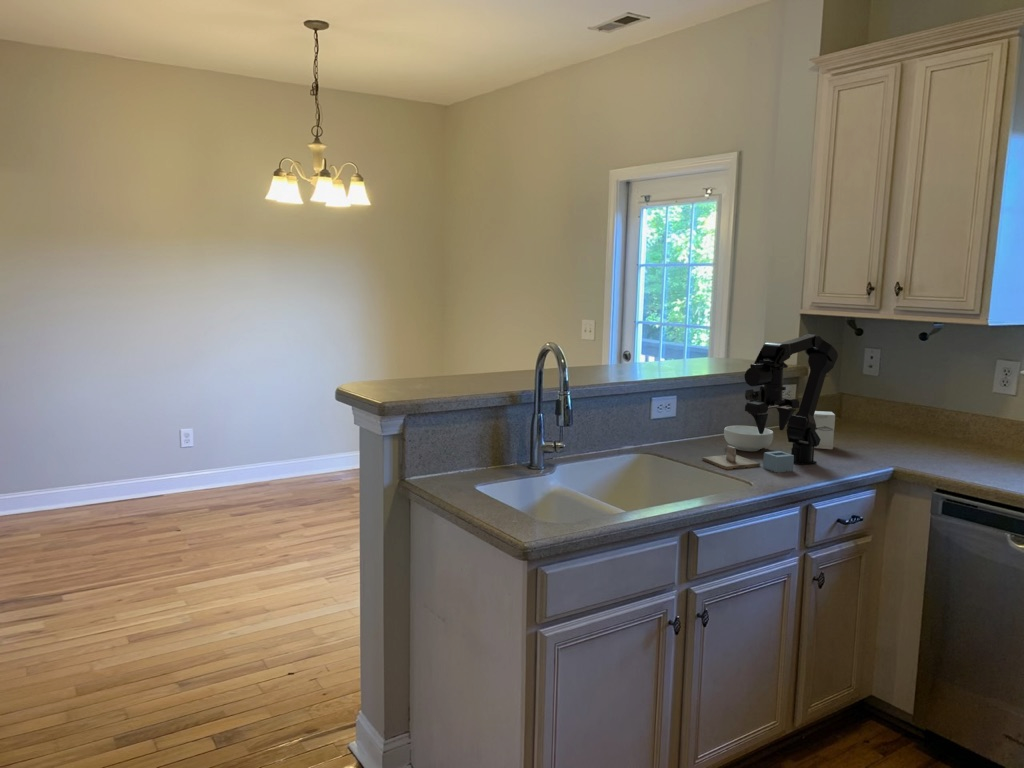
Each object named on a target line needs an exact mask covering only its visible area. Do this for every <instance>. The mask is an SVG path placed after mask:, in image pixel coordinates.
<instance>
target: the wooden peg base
mask: <svg viewBox="0 0 1024 768" xmlns="http://www.w3.org/2000/svg"><path fill="white" fill-rule="evenodd" d="M725 453H726V454H725V455H724V454H721V455H712V456H702V457H701V460H702V461H704V462H706V463H708V462H709V464H711V465H713V464H714V465H713V466H716V467H718V466H719V468H721V469H723V468H724V470H726V469H727V470H734V469H733V468H738V469H746V468H745V467H748V468H756V467H758V468H759V467H761V463H760V462H757V461H755V460H752V459H749V458H746V457H743V456H741V455H738V454H737V449H736V448H735V447H734V446H732V445H726V452H725Z"/></svg>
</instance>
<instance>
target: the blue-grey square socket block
mask: <svg viewBox="0 0 1024 768" xmlns="http://www.w3.org/2000/svg"><path fill="white" fill-rule="evenodd" d="M794 463H795V462H794V455H791V453H787V452H784V451H781V450H778V451H777V450H776V451H766V452H763V463H762V468H763V469H766V470H768V471H771V472H773V471H774V473H776V472H778V473H786V471H787V472H793V471H794Z"/></svg>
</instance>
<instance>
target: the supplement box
mask: <svg viewBox="0 0 1024 768" xmlns="http://www.w3.org/2000/svg"><path fill="white" fill-rule="evenodd" d="M814 419H815V423H816V429H815V431H816V433H817V434H818V436H819V437H820V439H821V440H820V443H819V445H818V446H817V447H814V449H822V450H823V449H824V450H834V439H835V438H834V437H835V425H836V424H835V423H836V414H835V413H834V412H833V411H822V410H815V413H814Z"/></svg>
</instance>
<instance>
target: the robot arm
mask: <svg viewBox="0 0 1024 768" xmlns="http://www.w3.org/2000/svg"><path fill="white" fill-rule="evenodd" d="M803 351H804V353H805V354H806V355H807V356H808V357H807V364H808V367H809V374H808V377H807V380H806V383H805V388H804V390H803V393H802V394H803V395H802V397H801V401H800V400H799V399H798V398H795V397H790V396H783V391H786V389H787V388H786V386H784V369H787V368H789V365H788V364H786V363H785V362H786V361H788V360H789V359H791V356H792V355H794V354H797V353H801V352H803ZM838 357H839V354H838V352H837V350H836V348H835V347H834V346H833V345H832V344H830V343H829V342H827V341H825V340H824V339H823V338H822V337H821V336H820V335H818V334H808V333H806V334H804V335H802V336H799V337H796V338H792V339H790V340H786V341H783V342H781V341H780V342H777V341H775V342H773V341H771V342H765V343H764V344H763V345H762V347H761V349H760V351H759V353H758V354H757V356H756V359H755V360H754V362H753V363H751V364H750V368H747V369H746V371H745V374H744V377H743V378H744V381H745V383H746V384H747V386H749V387H758V386H759V390H754V389H752V388H751V389H747V390H745V393H744V398H745V400H746V401H749V402H746V403H745V404H744V412H747V413H748V414H750V415H751V416H752V417H753V420H754V422H755V424H756V427H757V428H758V431H759V433H760V434H763V432H764V428H766V425H767V424H766V423H767V421H768V417H769V413H768V410H769V409H776V410H777V412H778V427H779V428H778V429H779V431H784V429H785V427H786V436H787V441H788V443H792V448H791V453H790V454H791V455H794V463H796V464H797V465H811V464H817V463H818V462H817V461H816V460H814V457H815V448H814V447H817V446H818V445H819V443H820V440H821V439H820V437H819V436H818V434H817V433H816V431H815V429H816V423H815V419H814V413H815V411H817V410H816V409H817V406H818V402H819V399H820V396H821V392H822V389H823V386H824V382H825V379H826V376H827V374H828V373H829V372H830V371H831V370H833V368H835V365H836V362H837V360H838ZM797 409H798V410H797ZM795 411H797V412H796V413H795ZM794 413H795V414H794ZM793 414H794V415H793Z"/></svg>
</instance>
